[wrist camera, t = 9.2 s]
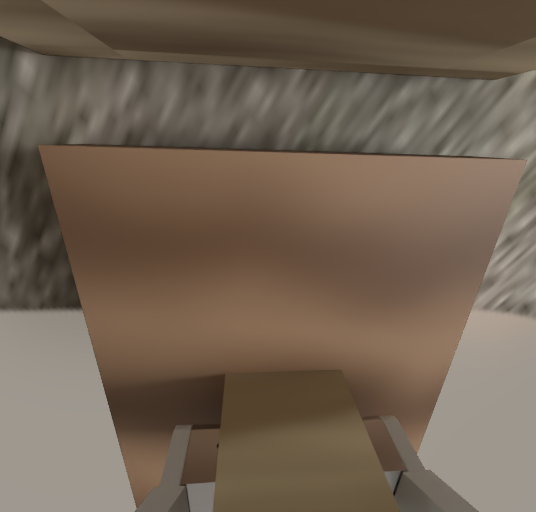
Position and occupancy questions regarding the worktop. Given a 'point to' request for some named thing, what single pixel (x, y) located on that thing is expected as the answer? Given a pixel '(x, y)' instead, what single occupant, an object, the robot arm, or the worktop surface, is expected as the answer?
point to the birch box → (288, 33)
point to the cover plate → (275, 303)
